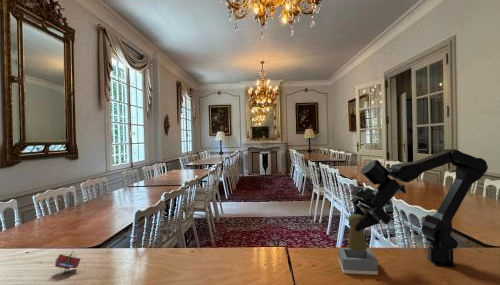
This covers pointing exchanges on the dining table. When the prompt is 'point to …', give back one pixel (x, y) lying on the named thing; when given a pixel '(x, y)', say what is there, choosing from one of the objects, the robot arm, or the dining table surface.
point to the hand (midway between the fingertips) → (352, 228)
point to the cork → (356, 234)
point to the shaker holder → (358, 261)
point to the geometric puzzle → (67, 261)
